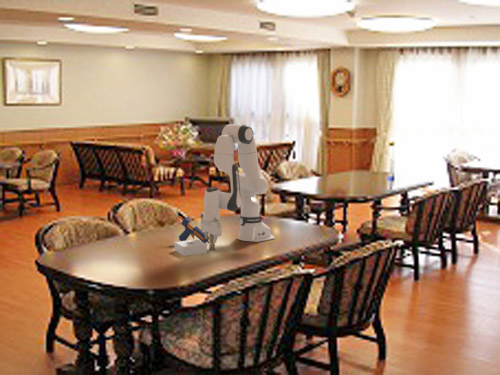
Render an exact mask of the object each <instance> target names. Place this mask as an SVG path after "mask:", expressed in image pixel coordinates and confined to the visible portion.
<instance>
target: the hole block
mask: <svg viewBox="0 0 500 375" xmlns="http://www.w3.org/2000/svg"><path fill="white" fill-rule="evenodd" d="M174 252H176V253H178V254H179V255H181V256H183V257H185V256H194V255H202V253H204V254H208V244H207V243H204V242H202V241H201V240H200V239H191V240H189V239H188V240H186V241H180V240H179V241H174Z"/></svg>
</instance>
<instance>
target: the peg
mask: <svg viewBox="0 0 500 375" xmlns="http://www.w3.org/2000/svg"><path fill="white" fill-rule="evenodd" d="M208 234H209V243H208V244H209V246H208V248H209V249H208V250H209V251H216V250H215V249H216V248H215V245H216V243H213V239H214V237H213V235H212V234H210V233H208Z"/></svg>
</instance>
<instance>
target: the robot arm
mask: <svg viewBox="0 0 500 375" xmlns="http://www.w3.org/2000/svg"><path fill="white" fill-rule="evenodd" d="M216 139H217V140H216V143H215V146H214V152H213V153H214V154H213V163H214V165H215V167H217V169H219V170H220V171H222V172H224V173H225V174H226V175H228V177H229V179H230V192H225V191H224V192H223V191H221V190H220V189H219V188H218V187H216V186H211V187H210V186H209V187H207V188H206V189H205V191H204V199H203V204H204V208H203V212H202V213H200V215H199V217H200V229H201V230H202V231H203V232H204V233H205V239H209V233H210V234H212V235H213V237H214V239H213V243H215V244H216V243H217V240H218V238H219V237H221V236H222V233H223V232H222V231H223V228H222V227H223V226H222V223H221V221H220V216H221V215H220V214H221V212H220V210H224V211H225V210H226V211H230V212H236V211H238V210H240V215H239V230H238V231H239V232H238V236H237V239H238V240H240V241H243V242H245V241H246V242H255V243H257V242H258V243H260V242H263V241H269V240H274V239H275V235H273V234H272V232H271V228H270V227H269V226H268V225H267V224H266V223H264V222H263V221H264V220H266V217H265V216H261V215H260V202H259V200H258V199H257V195H263V194H265V193H266V192H267V191H268V188H269V184H268V180H267V179H266V178H265V177H264V175H263V173H262V171H261V168H260V165H259V158H258V151H257V144H256V140H255V137H254V130H253V128H252V127H251V126H250V125H247V124H240V123H234V124H224V125H221V127H220V128H219V130H218V137H217V138H216ZM236 144H237V153H238V154H237V157H238V165H239V167H240V168H241V169H242V171H243V172H242V173H240V172H239V167H238V165H237V164H236V163H235V162H236V161H235V159H234V155H235V145H236Z"/></svg>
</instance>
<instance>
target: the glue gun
mask: <svg viewBox="0 0 500 375" xmlns="http://www.w3.org/2000/svg"><path fill="white" fill-rule="evenodd" d="M178 218H179V219H180V220H181V222H180V224H181V225H182V226H183V227H184V230H183V231H182V233H180V234H179V236H178V240H179V241H188V240H187V239H188V238H189V237H190V236H191V238H192V240H195V237H196V238H197V240H200V241H202V242H204V243H205V244H207V243H208V244H209V239H205V233H204V230H202V229H201V228H199V227H198V226H192V225H191V224H190V222H191V220H190V219H189V218H188V217H185V218H183V217H182V216H180V215H178Z"/></svg>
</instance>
